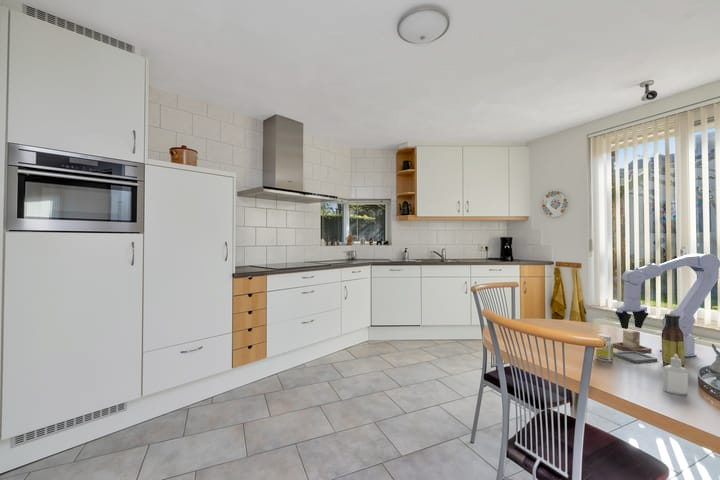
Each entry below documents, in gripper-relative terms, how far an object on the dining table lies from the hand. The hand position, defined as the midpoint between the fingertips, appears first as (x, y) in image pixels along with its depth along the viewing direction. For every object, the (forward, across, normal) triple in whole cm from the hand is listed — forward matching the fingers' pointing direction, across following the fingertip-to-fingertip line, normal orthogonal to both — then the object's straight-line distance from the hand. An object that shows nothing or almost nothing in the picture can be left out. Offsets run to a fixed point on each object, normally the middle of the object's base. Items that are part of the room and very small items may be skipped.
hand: (631, 328), depth 143 cm
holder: (+9, 0, 0) cm, 9 cm away
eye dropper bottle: (+10, +28, +35) cm, 46 cm away
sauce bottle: (+10, +4, +19) cm, 21 cm away
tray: (+9, +10, +9) cm, 16 cm away
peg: (+9, 0, 0) cm, 9 cm away
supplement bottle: (+10, +24, +8) cm, 27 cm away
